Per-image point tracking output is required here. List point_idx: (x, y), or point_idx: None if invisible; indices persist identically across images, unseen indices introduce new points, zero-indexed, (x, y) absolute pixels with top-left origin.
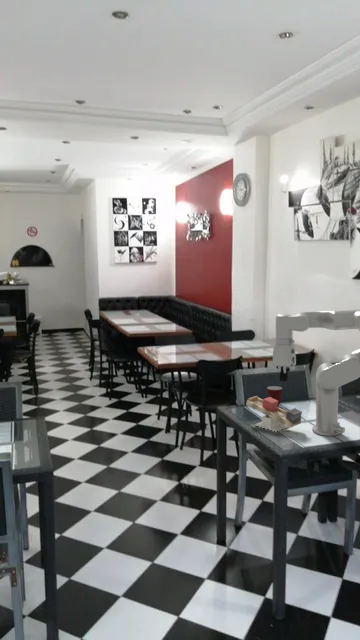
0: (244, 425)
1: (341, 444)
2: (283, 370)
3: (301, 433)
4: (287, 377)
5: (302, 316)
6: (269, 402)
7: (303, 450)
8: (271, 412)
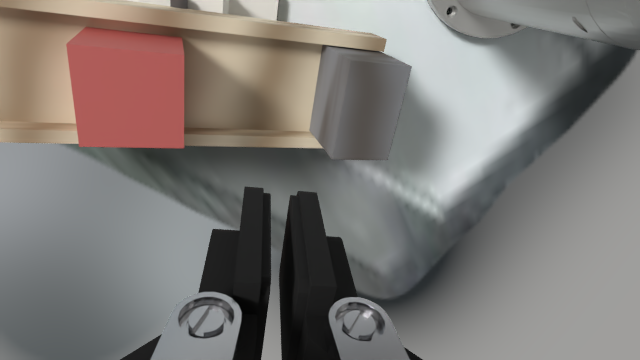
0: None
1: (585, 97)
2: (250, 348)
3: None
4: (343, 256)
5: None
6: (155, 145)
7: (450, 240)
8: (206, 144)
